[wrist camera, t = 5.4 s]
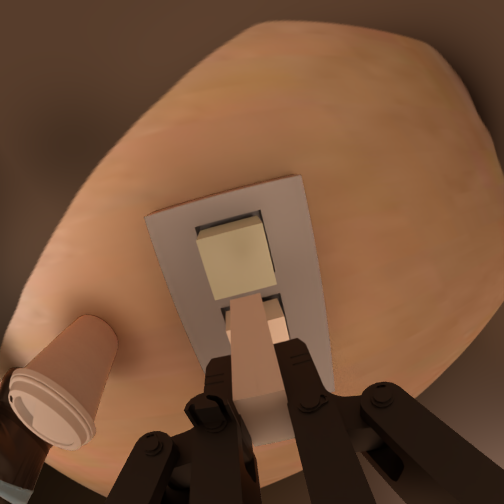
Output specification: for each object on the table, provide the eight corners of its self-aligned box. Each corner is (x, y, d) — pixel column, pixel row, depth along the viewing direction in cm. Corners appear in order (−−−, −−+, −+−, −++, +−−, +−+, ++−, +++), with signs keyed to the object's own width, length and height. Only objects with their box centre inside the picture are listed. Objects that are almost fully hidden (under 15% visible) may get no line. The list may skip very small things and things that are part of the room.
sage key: (216, 283, 25) (215, 300, 22) (200, 230, 23) (195, 240, 20) (270, 269, 25) (276, 284, 22) (257, 215, 23) (262, 222, 20)
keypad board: (226, 402, 33) (227, 418, 30) (152, 212, 26) (144, 217, 23) (328, 376, 33) (334, 391, 30) (293, 174, 26) (301, 174, 23)
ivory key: (239, 351, 27) (241, 373, 24) (225, 311, 26) (225, 331, 22) (286, 339, 27) (294, 360, 24) (277, 298, 26) (284, 316, 22)
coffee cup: (94, 289, 27) (22, 370, 13) (145, 352, 30) (110, 451, 16) (52, 322, 28) (-9, 393, 14) (98, 375, 31) (59, 457, 16)
